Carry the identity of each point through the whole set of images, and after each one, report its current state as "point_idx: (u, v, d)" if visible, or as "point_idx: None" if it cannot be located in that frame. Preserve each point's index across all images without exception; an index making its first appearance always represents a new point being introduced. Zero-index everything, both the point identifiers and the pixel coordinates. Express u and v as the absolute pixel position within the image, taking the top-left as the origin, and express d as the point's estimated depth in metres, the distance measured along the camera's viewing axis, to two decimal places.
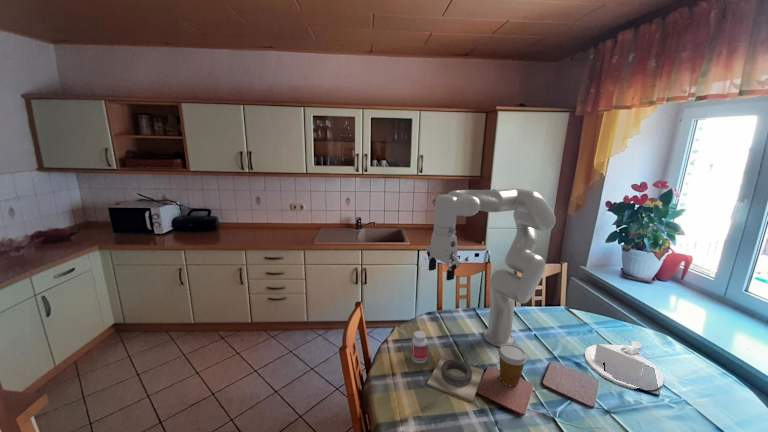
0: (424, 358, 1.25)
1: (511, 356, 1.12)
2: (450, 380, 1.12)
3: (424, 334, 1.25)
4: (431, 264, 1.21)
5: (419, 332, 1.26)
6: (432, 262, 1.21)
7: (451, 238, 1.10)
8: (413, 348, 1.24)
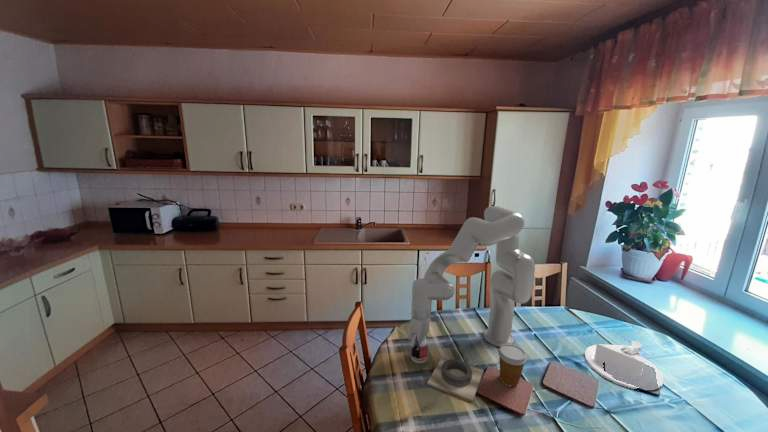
0: (424, 358, 1.25)
1: (511, 356, 1.12)
2: (450, 380, 1.12)
3: None
4: None
5: None
6: None
7: None
8: None
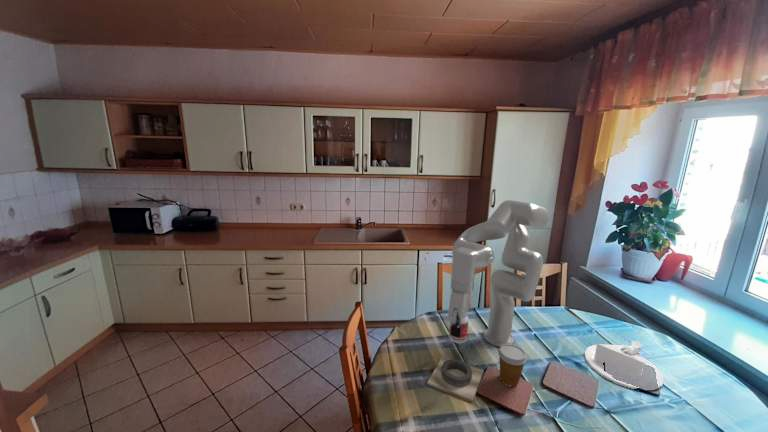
0: (465, 337, 1.11)
1: (511, 356, 1.12)
2: (450, 380, 1.12)
3: None
4: None
5: None
6: None
7: None
8: None
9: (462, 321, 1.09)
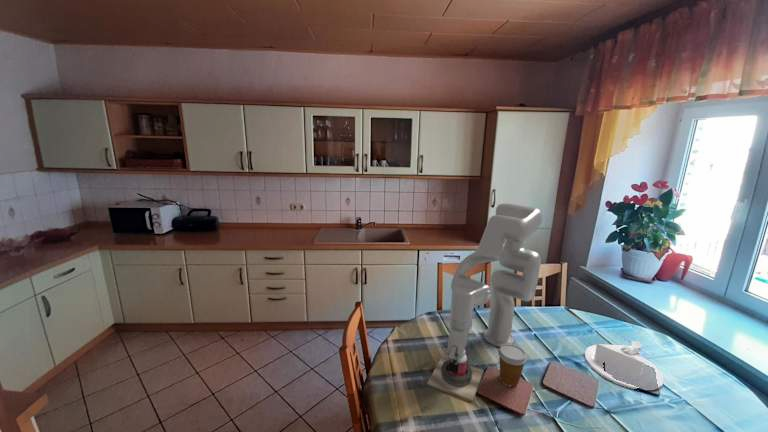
0: (463, 375, 1.14)
1: (511, 356, 1.12)
2: (450, 380, 1.12)
3: None
4: None
5: None
6: None
7: None
8: None
9: (461, 360, 1.13)
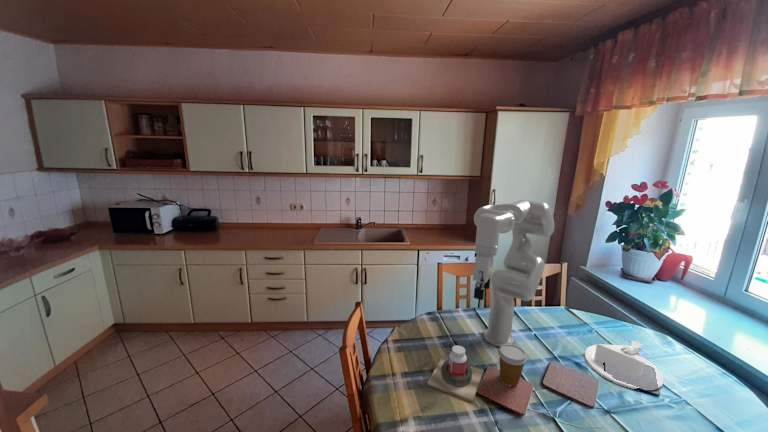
0: (463, 375, 1.14)
1: (511, 356, 1.12)
2: (450, 380, 1.12)
3: (463, 349, 1.15)
4: None
5: (457, 346, 1.16)
6: None
7: None
8: (451, 364, 1.14)
9: (461, 360, 1.13)
